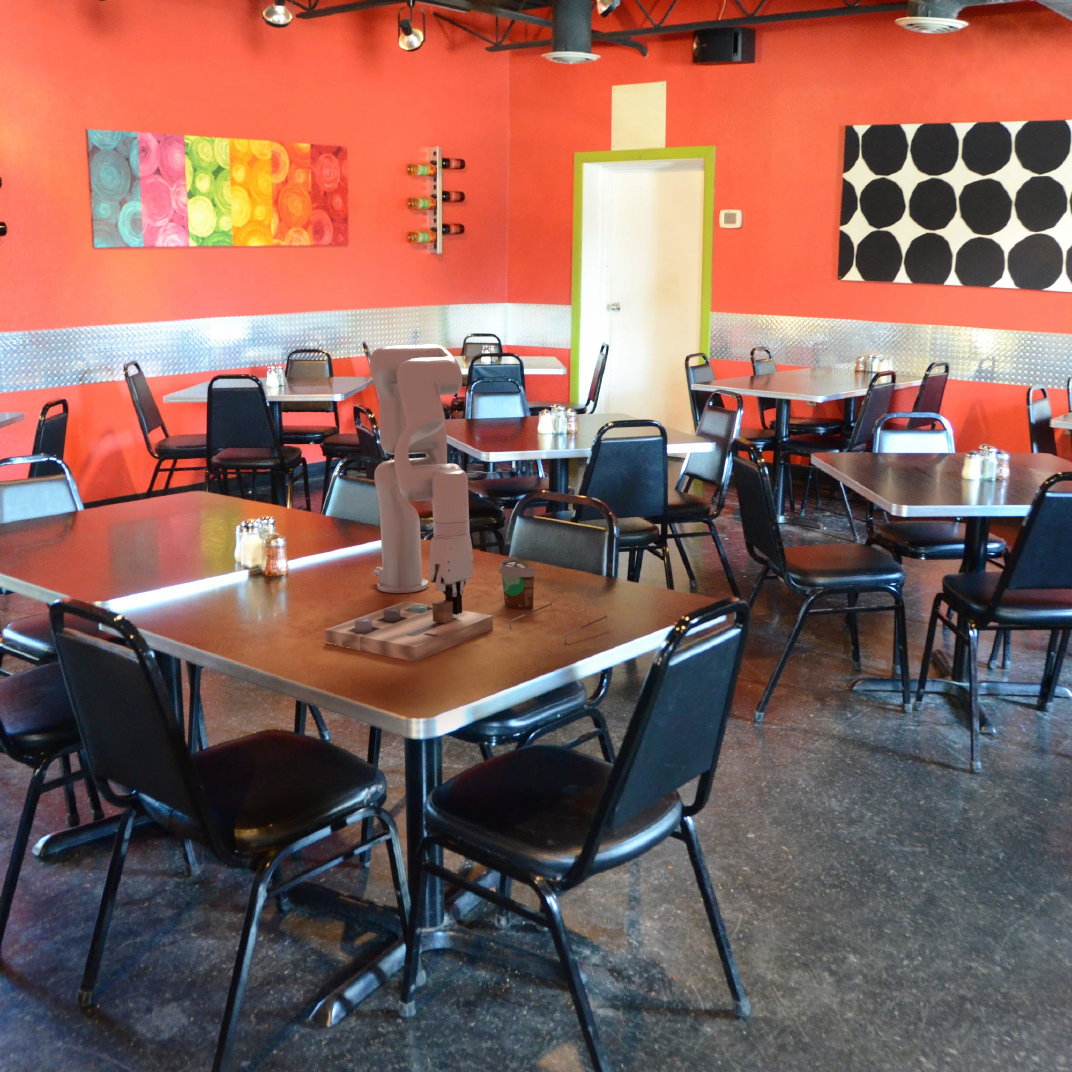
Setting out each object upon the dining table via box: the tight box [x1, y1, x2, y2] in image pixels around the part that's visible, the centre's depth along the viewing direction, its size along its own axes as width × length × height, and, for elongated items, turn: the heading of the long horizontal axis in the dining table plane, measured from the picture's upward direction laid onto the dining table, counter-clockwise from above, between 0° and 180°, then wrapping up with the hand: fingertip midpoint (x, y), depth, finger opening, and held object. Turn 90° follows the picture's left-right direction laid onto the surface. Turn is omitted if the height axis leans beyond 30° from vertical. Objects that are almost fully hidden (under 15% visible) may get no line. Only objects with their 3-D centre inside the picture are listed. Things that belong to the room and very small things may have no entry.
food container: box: [498, 556, 536, 611], centre depth 267 cm, size 12×6×10 cm, turn 21°
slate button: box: [355, 617, 373, 634], centre depth 240 cm, size 4×4×3 cm
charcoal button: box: [383, 607, 401, 624], centre depth 247 cm, size 4×4×3 cm
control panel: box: [325, 600, 494, 663], centre depth 245 cm, size 24×26×3 cm
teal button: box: [411, 605, 427, 614], centre depth 255 cm, size 4×4×3 cm
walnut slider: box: [431, 599, 453, 623], centre depth 244 cm, size 3×3×4 cm
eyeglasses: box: [508, 596, 608, 644], centre depth 249 cm, size 16×15×5 cm
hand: (454, 612), depth 247 cm, fingers closed
